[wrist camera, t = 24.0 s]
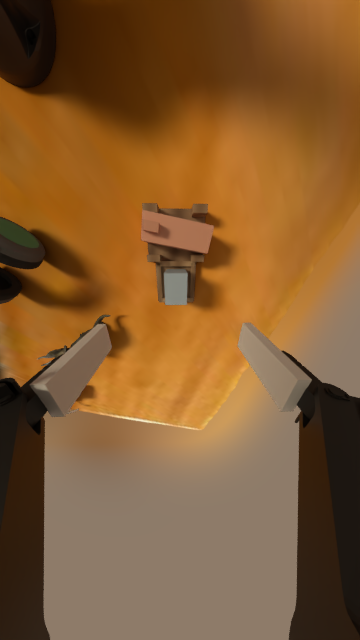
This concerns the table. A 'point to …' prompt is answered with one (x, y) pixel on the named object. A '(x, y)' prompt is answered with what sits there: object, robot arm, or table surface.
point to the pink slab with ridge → (176, 232)
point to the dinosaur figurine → (63, 350)
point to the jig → (176, 250)
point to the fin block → (175, 286)
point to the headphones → (16, 256)
